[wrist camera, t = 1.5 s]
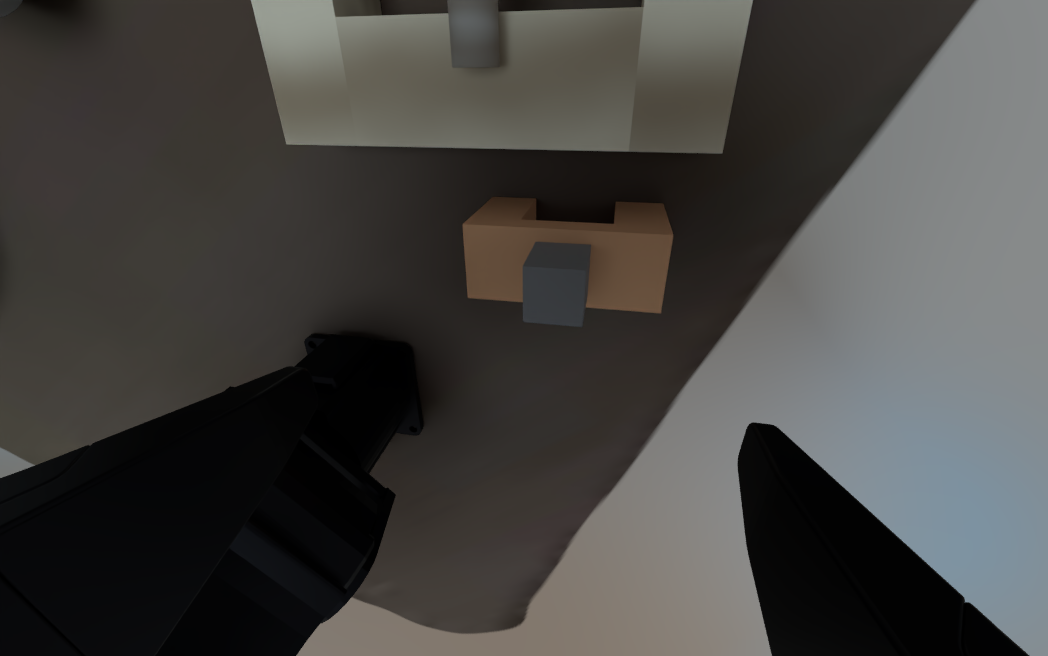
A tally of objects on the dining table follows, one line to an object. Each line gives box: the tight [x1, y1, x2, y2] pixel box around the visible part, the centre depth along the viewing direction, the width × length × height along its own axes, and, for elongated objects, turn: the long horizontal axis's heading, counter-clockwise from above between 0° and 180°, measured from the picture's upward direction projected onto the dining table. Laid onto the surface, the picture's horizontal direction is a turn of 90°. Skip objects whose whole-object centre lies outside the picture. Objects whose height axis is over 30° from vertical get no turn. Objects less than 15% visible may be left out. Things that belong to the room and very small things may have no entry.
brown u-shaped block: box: [462, 197, 673, 327], centre depth 17 cm, size 3×8×7 cm, turn 91°
